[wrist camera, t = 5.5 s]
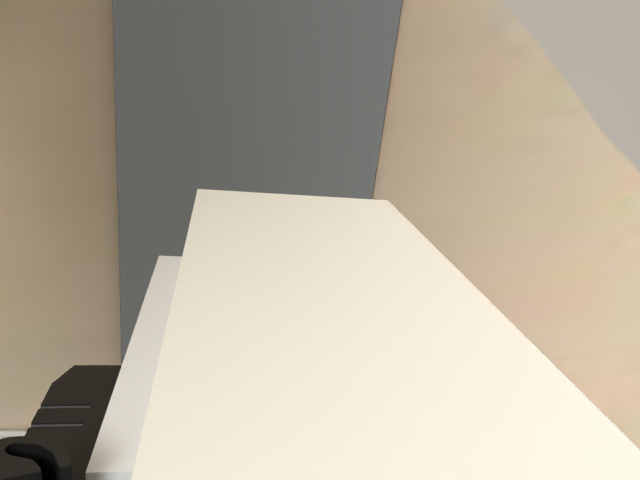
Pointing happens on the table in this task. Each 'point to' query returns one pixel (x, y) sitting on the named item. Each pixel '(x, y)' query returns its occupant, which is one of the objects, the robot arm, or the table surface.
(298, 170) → the rubber mat
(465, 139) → the table surface
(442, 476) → the cream block
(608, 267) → the table surface
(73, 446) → the robot arm
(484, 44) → the table surface
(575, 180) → the table surface
